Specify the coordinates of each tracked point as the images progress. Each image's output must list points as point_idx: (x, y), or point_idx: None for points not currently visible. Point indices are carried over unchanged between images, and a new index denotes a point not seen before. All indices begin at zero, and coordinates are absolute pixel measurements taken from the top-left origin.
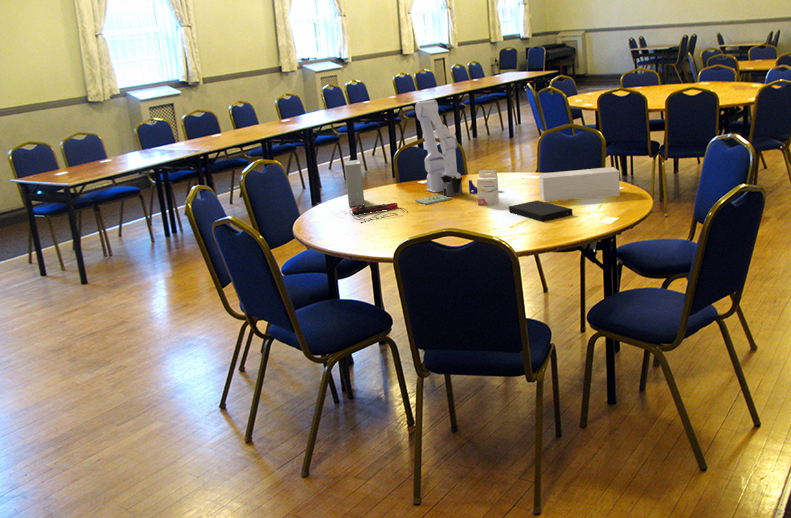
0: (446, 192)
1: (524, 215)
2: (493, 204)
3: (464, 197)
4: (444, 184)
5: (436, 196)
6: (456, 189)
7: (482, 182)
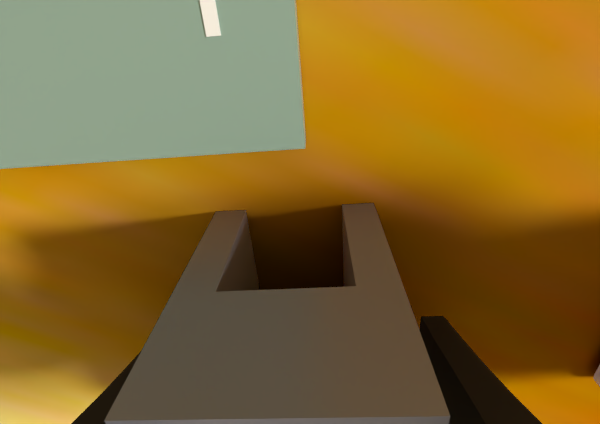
0: (345, 272)
1: None
2: None
3: (22, 322)
4: (279, 388)
5: None
6: None
7: None
